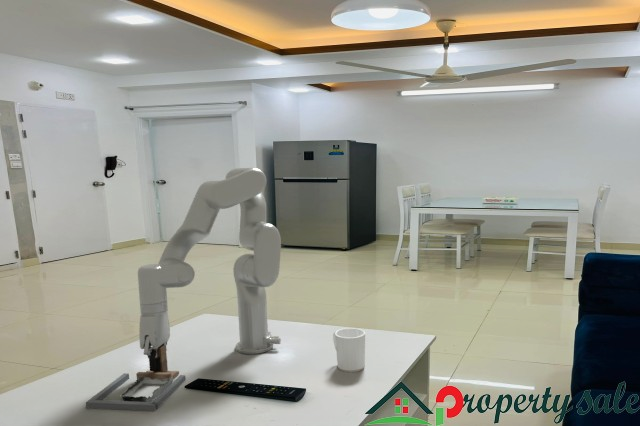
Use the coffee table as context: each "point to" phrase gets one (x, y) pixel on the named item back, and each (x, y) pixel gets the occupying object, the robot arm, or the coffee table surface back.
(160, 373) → the tan l-shaped bracket
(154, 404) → the bay
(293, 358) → the coffee table surface
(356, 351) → the mug
